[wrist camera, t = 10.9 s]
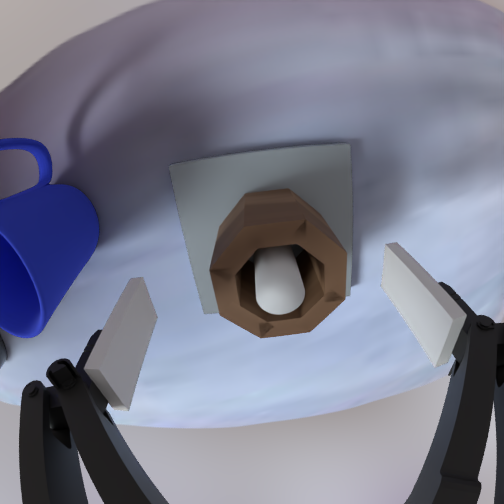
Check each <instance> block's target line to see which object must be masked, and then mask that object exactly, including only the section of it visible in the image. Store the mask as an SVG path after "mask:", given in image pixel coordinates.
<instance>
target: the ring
mask: <svg viewBox="0 0 504 504" xmlns="http://www.w3.org/2000/svg"><path fill="white" fill-rule="evenodd" d="M291 244H298V245H299V246H301V247H302V248H303V249H304V250H303V251H302V252H301V253H300V254H299V255H298V256H297V257H296V258H295V259H296V263H297V266H298V269H299V272H300V275H301V279H302V282H303V285H304V289H305V297H304V300H303V302H302V303H301V305H300V306H299V307H298V308H297V309H295V310H294V311H292V312H289V313H286V314H280V315H279V314H271V313H268V312H266V311H264V310H263V309H262V308H261V307H260V306H259V305H258V303H257V300H256V287H255V266H254V263H252V262H251V261H249V260H248V259H249V258H250V257H251V256H252V255H253V254H254V252H255V251H256V250H257V249H259V248H267V247H275V246H283V245H291ZM209 272H210V276H211V280H212V285H213V289H214V293H215V297H216V302H217V306H218V310H219V314H220V316H222V317H224V318H226V319H227V320H229V321H231V322H233V323H234V324H236V325H238V326H240V327H241V328H243V329H245V330H247V331H249V332H250V333H252V334H254V335H256V336H258V337H260V338H268V337H276V336H284V335H292V334H299V333H306V332H311V331H312V330H313V329H314V328H315V327H316V326H317V325H318V324H319V323H321V322H322V321H323V320H324V319H325V318H326V317H327V316H328V315H329V314H330V313H331V312H332V311H334V310H335V309H336V308H337V307H338V306H339V305H340V304H341V303H342V302H343V301H344V300H345V295H346V274H347V252H346V250H345V249H344V247H343V246H342V244H341V243H340V241H339V240H338V238H337V237H336V236H335V234H334V233H333V231H332V230H331V228H330V227H329V225H328V224H327V222H326V221H325V220H324V218H323V217H322V215H321V214H320V213H319V212H318V211H316V210H315V209H314V208H313V207H311V206H310V205H309V204H308V203H307V202H305V201H304V200H303V199H302V198H300V197H299V196H298V195H297V194H295V193H294V192H293V191H292V190H290V189H289V188H286V189H277V190H269V191H261V192H253V193H245V194H244V195H243V196H242V198H241V199H240V200H239V202H238V203H237V204H236V205H235V207H234V208H233V209H232V211H231V212H230V213H229V214H228V216H227V217H226V218H225V220H224V221H223V222H222V223H221V225H220V226H219V229H218V234H217V238H216V242H215V246H214V251H213V255H212V260H211V264H210V268H209Z"/></svg>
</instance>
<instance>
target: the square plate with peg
mask: <svg viewBox="0 0 504 504" xmlns="http://www.w3.org/2000/svg"><path fill="white" fill-rule="evenodd" d="M169 171H170V176H171V181H172V186H173V191H174V195H175V200H176V205H177V209H178V214H179V218H180V222H181V227H182V231H183V235H184V239H185V243H186V248H187V252H188V256H189V260H190V264H191V267H192V271H193V275H194V279H195V283H196V286H197V290H198V294H199V297H200V301H201V305H202V308H203V312H204V314H212V313H219V310H218V306H217V302H216V297H215V293H214V289H213V285H212V280H211V276H210V272H209V268H210V264H211V260H212V255H213V251H214V246H215V242H216V238H217V234H218V229H219V226H220V225H221V223H222V222H223V221H224V220H225V218H226V217H227V216H228V214H229V213H230V212H231V211H232V209H233V208H234V207H235V205H236V204H237V203H238V202H239V200H240V199H241V198H242V196H243V195H244V194H245V193H253V192H261V191H269V190H277V189H286V188H289V189H290V190H292V191H293V192H294V193H295V194H297V195H298V196H299V197H300V198H302V199H303V200H304V201H305V202H307V203H308V204H309V205H310V206H311V207H313V208H314V209H315V210H316V211H318V212H319V213H320V214H321V215H322V217H323V218H324V220H325V221H326V222H327V224H328V225H329V227H330V228H331V230H332V231H333V233H334V234H335V236H336V237H337V238H338V240H339V241H340V243H341V244H342V246H343V247H344V249H345V250H346V252H347V274H346V295H345V297H346V296H350V290H351V272H352V241H353V197H352V166H351V148H350V144H348V143H330V144H314V145H302V146H290V147H280V148H271V149H262V150H254V151H246V152H239V153H232V154H225V155H219V156H213V157H207V158H201V159H195V160H190V161H184V162H179V163H174V164H171V165H170V166H169ZM303 250H304V249H303V248H302V247H301V246H299V245H298V244H291V245H283V246H275V247H267V248H259V249H257V250H256V251H255V252H254V254H253V255H252V256H251V257H250V258H249V259H248V260H249V261H251V262H252V263H254V266H255V287H256V300H257V303H258V305H259V306H260V307H261V308H262V309H263V310H264V311H266V312H268V313H271V314H279V315H280V314H286V313H289V312H292V311H294V310H295V309H297V308H298V307H299V306H300V305H301V303H302V302H303V300H304V297H305V289H304V285H303V282H302V279H301V275H300V272H299V269H298V266H297V263H296V259H295V258H296V257H297V256H298V255H299V254H300V253H301V252H302V251H303Z"/></svg>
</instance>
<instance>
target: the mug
mask: <svg viewBox="0 0 504 504" xmlns="http://www.w3.org/2000/svg"><path fill="white" fill-rule="evenodd" d="M8 149H22V150H26V151H29V152H30V153H32V154H33V155H34V156H35V158H36V160H37V162H38V166H39V175H40V176H39V182H38V183H37V185H35V186H34V187H32V188H29V189H27V190H25V191H22V192H20V193H17V194H15V195H12V196H10V197H7V198H4V199H1V200H0V328H2V329H3V330H5V331H6V332H8V333H10V334H12V335H14V336H17V337H21V338H32V337H35V336H37V335H38V334H40V333H41V332H42V330H43V329H44V327H45V326H46V324H47V322H48V321H49V319H50V317H51V316H52V314H53V312H54V311H55V309H56V308H57V306H58V304H59V303H60V301H61V300H62V298H63V297H64V295H65V294H66V292H67V290H68V289H69V287H70V286H71V284H72V283H73V282H74V280H75V279H76V277H77V276H78V274H79V273H80V271H81V270H82V269H83V267H84V266H85V264H86V263H87V262H88V260H89V259H90V257H91V256H92V254H93V252H94V250H95V248H96V246H97V242H98V238H99V222H98V217H97V214H96V211H95V209H94V207H93V205H92V203H91V202H90V200H89V199H88V198H87V197H86V195H85V194H84V193H82V192H81V191H80V190H78V189H77V188H75V187H73V186H70V185H64V184H54V185H50V184H49V182H50V180H51V178H52V161H51V157H50V154H49V152H48V150H47V148H46V147H45V146H44V145H43V144H42V143H41V142H38V141H36V140H32V139H26V138H7V139H0V150H8Z"/></svg>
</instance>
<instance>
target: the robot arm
mask: <svg viewBox="0 0 504 504" xmlns="http://www.w3.org/2000/svg"><path fill="white" fill-rule="evenodd" d="M381 287H382V289H383V290H384V292H385V293H386V294H387V296H388V297H389V299H390V300H391V302H392V303H393V304H394V306H395V307H396V309H397V310H398V312H399V313H400V315H401V316H402V318H403V319H404V321H405V322H406V324H407V325H408V327H409V328H410V330H411V331H412V333H413V334H414V336H415V337H416V339H417V340H418V342H419V344H420V345H421V347H422V348H423V350H424V352H425V353H426V355H427V356H428V358H429V360H430V361H431V363H432V365H433V366H434V368H436V367H438V366H441V365H443V364H446V363H448V361H449V359H450V357H451V354H453V355H454V357H455V358H456V360H455V362H454V364H453V366H452V368H451V370H450V372H449V374H448V375H449V376H450V375H451V378H450V383H449V387H448V391H447V395H446V399H445V403H444V406H443V410H442V414H441V417H440V420H439V424H438V427H437V430H436V433H435V436H434V439H433V442H432V445H431V447H430V451H429V453H428V456H427V458H426V460H425V463H424V465H423V468H422V470H421V473H420V475H419V477H418V480H417V482H416V484H415V486H414V488H413V491H412V492H411V495H410V496H409V498H408V499H407V500H406V502H405V503H404V504H477V501H478V498H479V495H480V492H481V483H480V482H479V481H478V474H479V471H480V467H481V463H482V460H483V456H484V451H485V447H486V442H487V438H488V432H489V427H490V421H491V414H492V408H493V400H494V409H495V421H496V438H497V439H496V440H497V467H496V468H497V469H496V486H495V497H494V504H504V323H495V322H494V321H493V320H492V319H491V318H490V317H487V316H485V315H476V314H475V313H474V311H473V310H472V309H471V308H470V307H469V306H468V305H467V304H466V303H465V302H464V300H463V299H461V297H460V296H459V295H458V294H456V292H455V291H454V290H453V289H452V288H451V287H450V286H448V285H447V284H445V283H443V282H439V283H437V282H436V281H435V279H434V278H433V277H432V276H431V275H430V274H429V273H428V272H427V271H426V270H425V269H424V268H423V267H422V266H421V265H420V264H419V263H418V262H417V261H416V260H415V259H414V258H413V257H412V256H411V255H410V254H409V253H408V252H407V251H406V250H405V249H403V248H402V247H401V246H400V245H399V244H398V243H397V242H395V243H389V244H385V251H384V262H383V272H382V281H381ZM157 318H158V317H157V314H156V312H155V309H154V306H153V304H152V301H151V298H150V296H149V293H148V290H147V287H146V285H145V282H144V279H143V277H139V278H131V279H130V280H129V282H128V284H127V286H126V287H125V289H124V291H123V293H122V294H121V296H120V298H119V300H118V302H117V304H116V305H115V307H114V309H113V311H112V313H111V315H110V317H109V318H108V320H107V322H106V324H105V326H104V328H103V330H97V331H96V332H95V333H94V334H93V335H92V336H91V338H90V340H89V341H88V343H87V346H86V347H85V349H84V352H83V353H82V355H81V357H80V359H79V361H78V363H77V365H76V367H74V366H73V364H72V363H71V362H70V360H68V359H66V358H65V359H59V360H56V361H55V362H53V363H52V364H51V365H50V366H49V367H48V370H47V372H46V377H47V378H48V379H49V381H50V382H51V383H52V384H53V386H51V387H45V386H44V385H43V384H42V383H41V381H38V380H36V381H32V382H30V383H29V384H27V385H26V386H25V388H24V390H23V393H22V400H21V412H20V430H19V463H20V464H19V465H20V482H21V492H22V502H23V504H88V500H87V496H86V492H85V488H84V484H83V479H82V474H81V468H80V463H79V457H78V451H79V454H80V456H81V458H82V461H83V463H84V465H85V467H86V469H87V471H88V473H89V475H90V478H91V480H92V482H93V483H94V485H95V487H96V489H97V491H98V493H99V495H100V497H101V498H102V500H103V502H104V504H169V503H168V502H167V501H166V499H165V498H164V497H163V496H162V494H161V493H160V492H159V490H158V489H157V488H156V486H155V485H154V484H153V482H152V481H151V480H150V478H149V477H148V475H147V474H146V473H145V471H144V470H143V468H142V467H141V465H140V464H139V462H138V461H137V459H136V458H135V456H134V455H133V454H132V452H131V450H130V448H129V447H128V445H127V443H126V442H125V440H124V439H123V437H122V435H121V433H120V432H119V430H118V428H117V426H116V425H115V423H114V421H113V419H112V417H111V416H110V414H109V412H108V411H107V410H106V407H107V404H108V403H109V404H110V405H111V407H112V408H113V409H114V410H121V411H129V409H130V405H131V402H132V398H133V394H134V391H135V387H136V384H137V381H138V377H139V374H140V370H141V367H142V364H143V361H144V357H145V354H146V351H147V348H148V345H149V342H150V339H151V336H152V333H153V329H154V326H155V324H156V321H157ZM6 358H7V353H6V349H5V346H4V343H3V341H2V339H1V337H0V368H1V367H2V365H3V364H4V362H5V361H6ZM77 449H78V450H77Z"/></svg>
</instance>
